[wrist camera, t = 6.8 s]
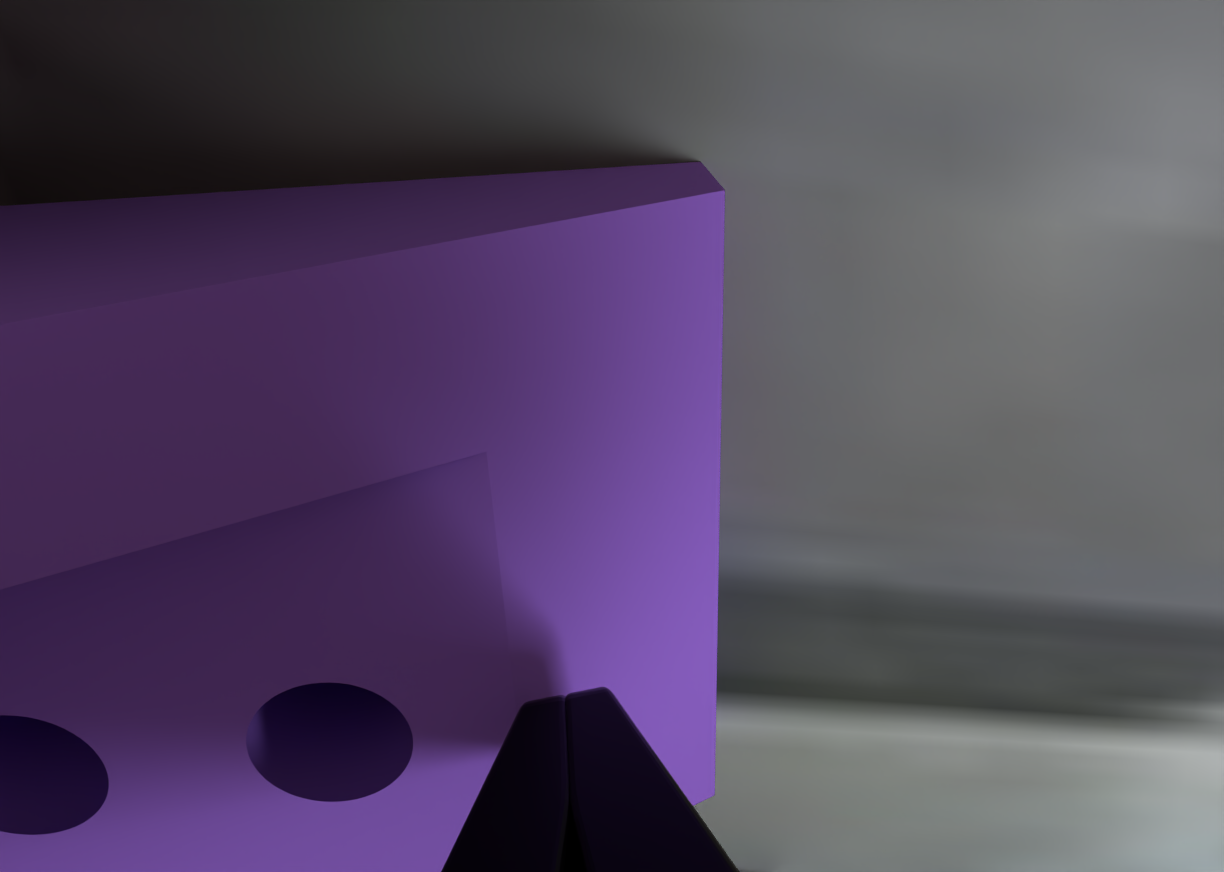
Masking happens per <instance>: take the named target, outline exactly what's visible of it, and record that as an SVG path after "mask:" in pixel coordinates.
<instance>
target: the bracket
mask: <svg viewBox="0 0 1224 872" xmlns="http://www.w3.org/2000/svg"><path fill="white" fill-rule="evenodd" d="M724 212H725V190H724V189H723V187H722V186H721V185H720V184H719V183H718V182H717V180H716V179H715V178H714V177H713V176H712V174H711V173H710V172H709V171H708V170H707V169H706V167H705V166H704V165H703V164H702V163H701V162H687V163H671V164H656V165H640V166H624V167H608V168H593V169H577V170H561V171H545V172H530V173H514V174H498V175H482V176H467V177H451V178H435V179H419V180H403V181H388V182H372V183H356V184H340V185H325V186H309V187H293V188H277V189H262V190H246V191H230V192H214V193H199V194H183V195H167V196H151V197H135V198H120V199H104V200H88V201H72V202H57V203H41V204H25V205H9V206H0V872H441V871H442V869H443V867H444V864H445V862H446V860H447V858H448V856H449V854H450V852H451V850H452V848H453V846H454V844H455V842H456V840H457V837H458V835H459V833H460V831H461V829H462V827H463V825H464V823H465V821H466V819H467V817H468V815H469V813H470V811H471V808H472V806H473V804H474V802H475V800H476V798H477V796H478V794H479V792H480V790H481V788H482V786H483V784H484V781H485V779H486V777H487V775H488V773H489V771H490V769H491V767H492V765H493V763H494V761H495V759H496V757H497V754H498V752H499V750H500V748H501V746H502V744H503V742H504V740H505V738H506V736H507V734H508V732H509V730H510V727H511V725H512V723H513V721H514V719H515V717H516V715H517V713H518V711H519V709H520V707H521V706H522V705H523V704H524V703H525V702H527V701H531V700H536V699H541V698H546V697H551V696H556V695H564V696H567V695H568V694H569V693H572V692H577V691H582V690H587V689H592V688H598V687H606V688H608V689H610V690H611V691H612V692H613V694H614V695H615V697H616V698H617V699H618V701H619V702H620V704H621V705H622V706H623V708H624V709H625V711H626V712H627V714H628V715H629V716H630V718H631V719H632V721H633V722H634V723H635V725H636V726H637V728H638V729H639V730H640V732H641V733H642V735H643V736H644V738H645V739H646V740H647V742H648V743H649V745H650V746H651V747H652V749H653V750H654V752H655V753H656V755H657V756H658V757H659V759H660V760H661V762H662V763H663V764H664V766H665V767H666V769H667V770H668V772H669V773H670V774H671V776H672V777H673V779H674V780H675V781H676V783H677V784H678V786H679V787H680V788H681V790H682V791H683V793H684V794H685V796H686V797H687V798H688V800H689V801H690V803H691V804H692V805H695V804H697V803H699V802H702V801H704V800H706V799H708V798H710V797H712V796H714V795H715V741H716V682H717V623H718V565H719V506H720V447H721V388H722V330H723V271H724ZM342 683H343V684H342Z"/></svg>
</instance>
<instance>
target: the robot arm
mask: <svg viewBox="0 0 1224 872" xmlns="http://www.w3.org/2000/svg"><path fill="white" fill-rule="evenodd" d="M441 872H739V871H738V869H737V868H736V866H735V865H734V863H733V862H732V861H731V859H730V858H729V856H728V855H727V854H726V852H725V851H724V849H723V848H722V846H721V845H720V844H719V842H718V841H717V839H716V838H715V837H714V835H713V834H712V832H711V831H710V830H709V828H708V827H707V825H706V824H705V822H704V821H703V820H702V818H701V817H700V815H699V814H698V813H697V811H696V810H695V808H694V807H693V805H692V804H691V803H690V801H689V800H688V798H687V797H686V796H685V794H684V793H683V791H682V790H681V788H680V787H679V786H678V784H677V783H676V781H675V780H674V779H673V777H672V776H671V774H670V773H669V772H668V770H667V769H666V767H665V766H664V764H663V763H662V762H661V760H660V759H659V757H658V756H657V755H656V753H655V752H654V750H653V749H652V747H651V746H650V745H649V743H648V742H647V740H646V739H645V738H644V736H643V735H642V733H641V732H640V730H639V729H638V728H637V726H636V725H635V723H634V722H633V721H632V719H631V718H630V716H629V715H628V714H627V712H626V711H625V709H624V708H623V706H622V705H621V704H620V702H619V701H618V699H617V698H616V697H615V695H614V694H613V692H612V691H611V690H610V689H608V688H606V687H598V688H592V689H587V690H582V691H577V692H572V693H569V694H568V695H567V696H564V695H556V696H551V697H546V698H541V699H536V700H531V701H527V702H525V703H524V704H523V705H522V706H521V707H520V709H519V711H518V713H517V715H516V717H515V719H514V721H513V723H512V725H511V727H510V730H509V732H508V734H507V736H506V738H505V740H504V742H503V744H502V746H501V748H500V750H499V752H498V754H497V757H496V759H495V761H494V763H493V765H492V767H491V769H490V771H489V773H488V775H487V777H486V779H485V781H484V784H483V786H482V788H481V790H480V792H479V794H478V796H477V798H476V800H475V802H474V804H473V806H472V808H471V811H470V813H469V815H468V817H467V819H466V821H465V823H464V825H463V827H462V829H461V831H460V833H459V835H458V837H457V840H456V842H455V844H454V846H453V848H452V850H451V852H450V854H449V856H448V858H447V860H446V862H445V864H444V867H443V869H442V871H441Z"/></svg>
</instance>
